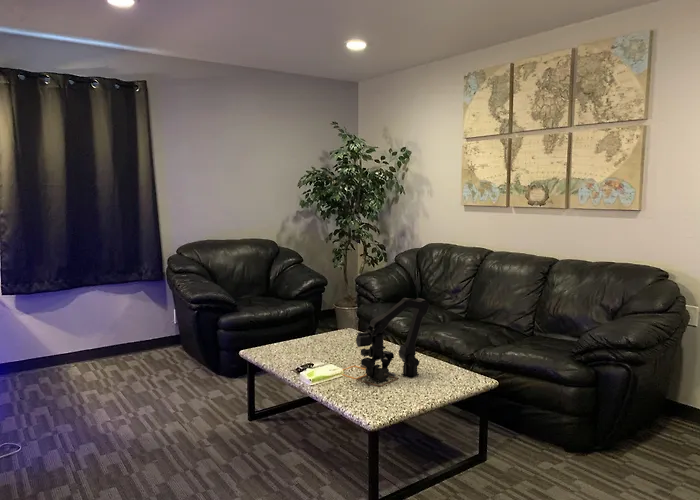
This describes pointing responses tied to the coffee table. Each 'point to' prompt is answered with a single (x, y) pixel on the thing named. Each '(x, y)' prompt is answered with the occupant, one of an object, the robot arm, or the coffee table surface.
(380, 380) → the end cap
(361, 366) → the metal rail
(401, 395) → the coffee table surface
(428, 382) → the coffee table surface
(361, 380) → the walnut seat frame
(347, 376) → the orange marked frame
